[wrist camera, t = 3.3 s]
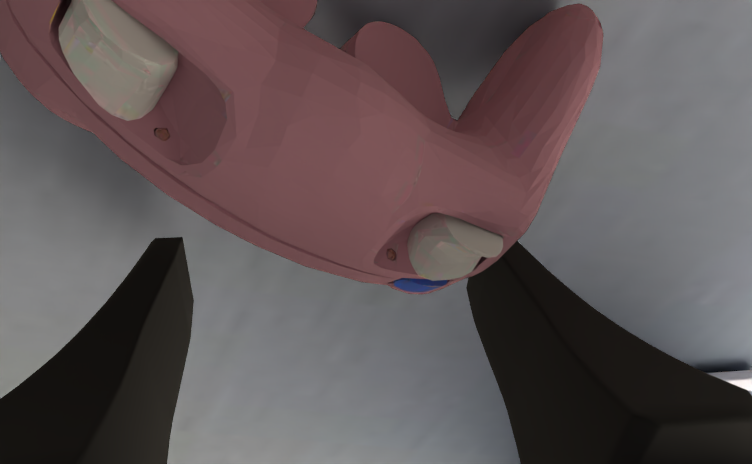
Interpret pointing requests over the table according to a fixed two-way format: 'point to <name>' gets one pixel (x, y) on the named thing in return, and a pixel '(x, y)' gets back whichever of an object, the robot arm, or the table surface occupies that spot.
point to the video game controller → (315, 125)
